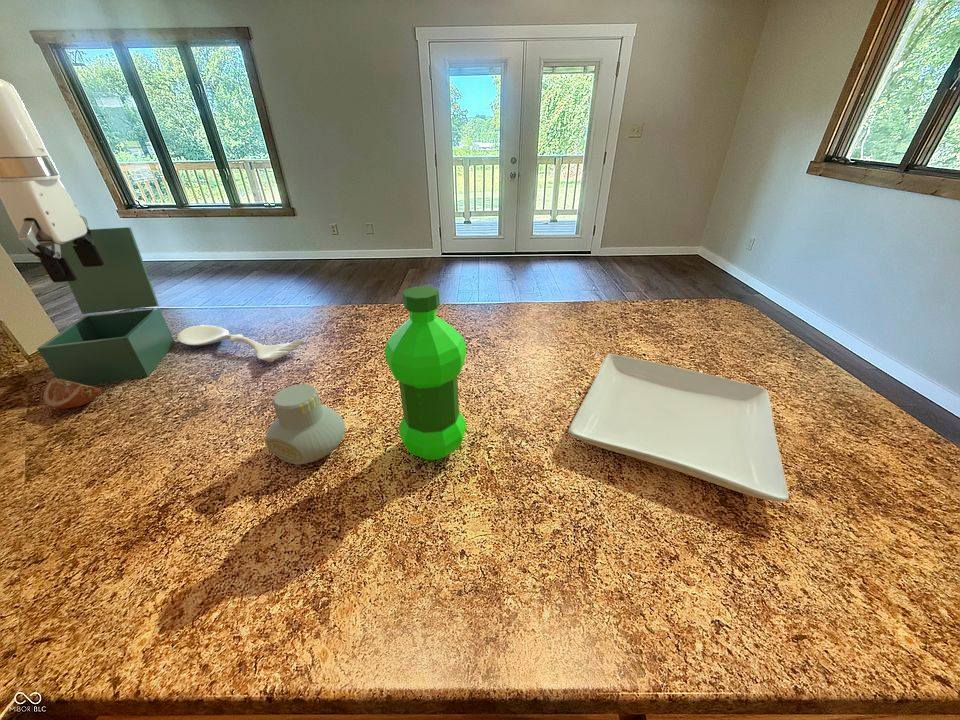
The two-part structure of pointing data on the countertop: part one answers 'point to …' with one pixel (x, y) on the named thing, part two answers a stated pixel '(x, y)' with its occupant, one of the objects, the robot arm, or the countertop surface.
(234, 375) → the countertop surface
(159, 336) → the open green box
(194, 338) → the spoon
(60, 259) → the robot arm
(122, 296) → the lid
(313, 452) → the air freshener
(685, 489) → the countertop surface
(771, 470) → the square plate
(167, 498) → the countertop surface
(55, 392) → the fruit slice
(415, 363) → the plastic bottle
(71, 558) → the countertop surface
